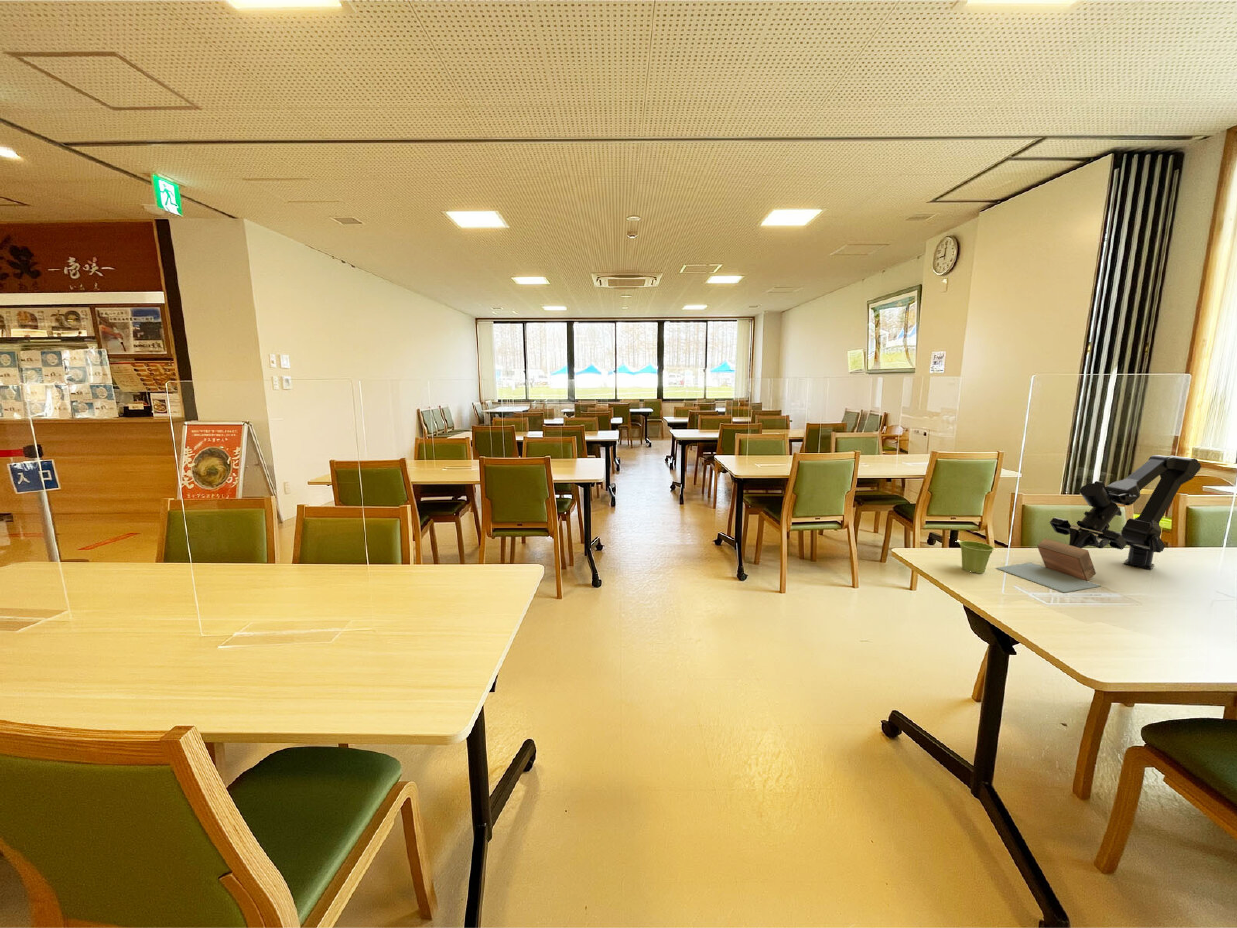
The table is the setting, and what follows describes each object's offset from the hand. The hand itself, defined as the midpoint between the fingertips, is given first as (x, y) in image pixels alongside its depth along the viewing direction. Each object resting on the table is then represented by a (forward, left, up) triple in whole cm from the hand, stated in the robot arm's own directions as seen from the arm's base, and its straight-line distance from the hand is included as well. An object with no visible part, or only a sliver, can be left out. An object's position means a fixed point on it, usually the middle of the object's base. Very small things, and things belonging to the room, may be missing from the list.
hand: (1070, 551), depth 159 cm
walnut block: (-1, 0, -6) cm, 7 cm away
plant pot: (+21, -19, -8) cm, 29 cm away
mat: (+9, -3, -7) cm, 12 cm away
